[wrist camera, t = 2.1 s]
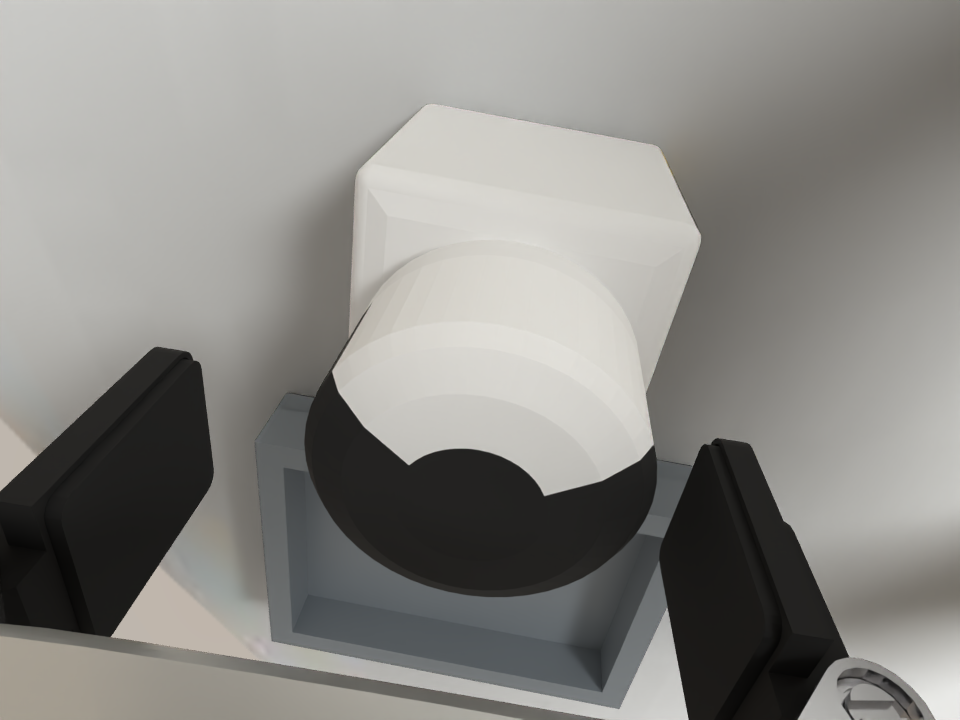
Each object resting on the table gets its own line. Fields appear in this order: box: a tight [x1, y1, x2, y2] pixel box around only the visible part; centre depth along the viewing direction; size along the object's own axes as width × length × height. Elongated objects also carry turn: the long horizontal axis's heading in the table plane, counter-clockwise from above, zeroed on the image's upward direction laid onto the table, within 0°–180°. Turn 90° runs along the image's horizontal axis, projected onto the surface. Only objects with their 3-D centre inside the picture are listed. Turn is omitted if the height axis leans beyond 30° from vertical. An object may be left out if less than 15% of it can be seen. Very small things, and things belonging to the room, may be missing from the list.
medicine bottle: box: [304, 104, 701, 597], centre depth 15 cm, size 7×7×12 cm
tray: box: [255, 393, 692, 709], centre depth 27 cm, size 16×12×3 cm
